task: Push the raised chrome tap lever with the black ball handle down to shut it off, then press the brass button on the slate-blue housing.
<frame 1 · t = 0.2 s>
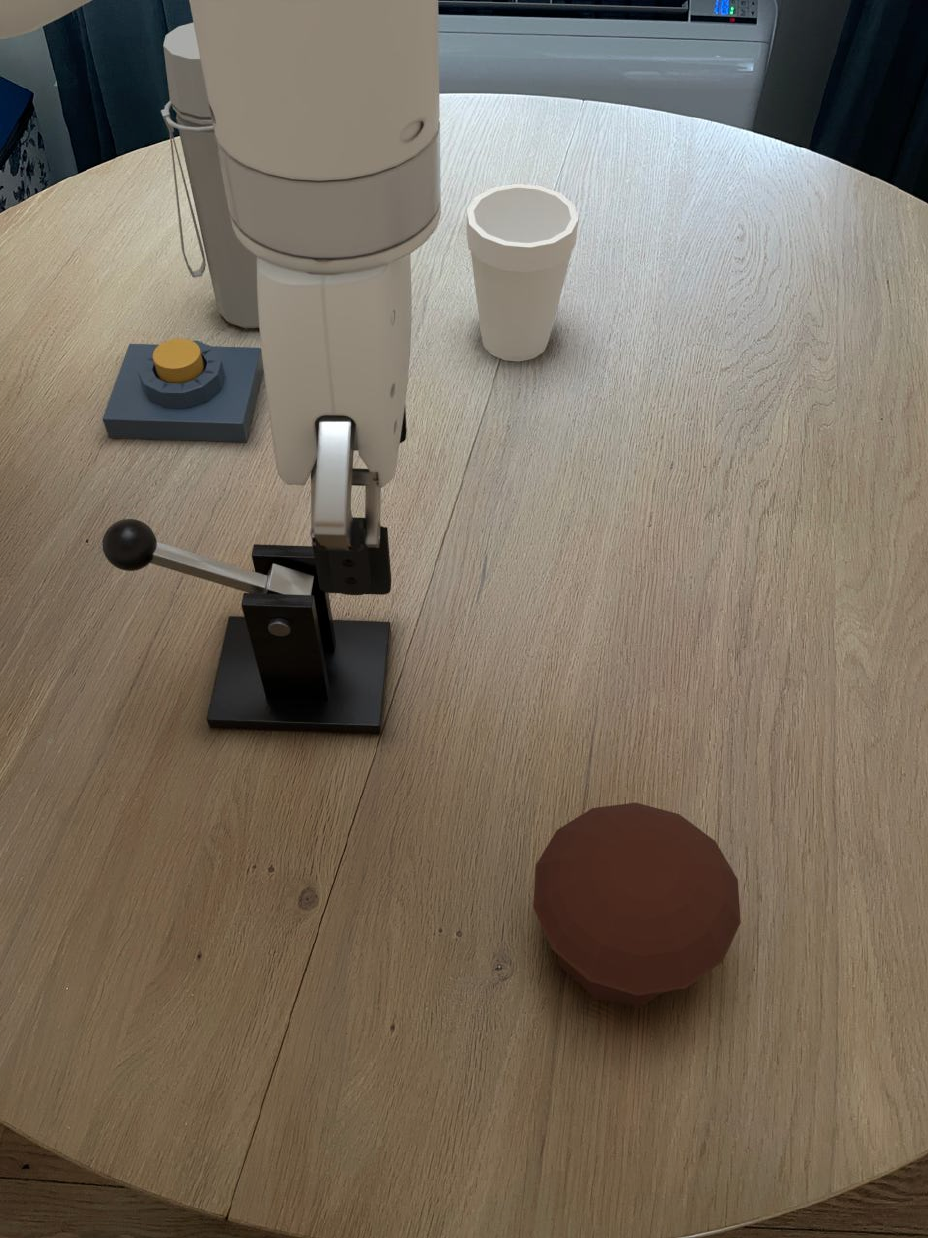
hand: (366, 509, 50), 26 cm above the table, tool pointing down, fingers open, 9 cm apart
water bottle: (246, 313, 101), on the table
foam cup: (514, 341, 98), on the table
button: (178, 361, 89), point 4 cm above the table, slide at 0.1 cm
button housing: (189, 401, 93), on the table
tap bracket: (303, 678, 75), on the table
tap lever: (208, 568, 65), point 12 cm above the table, hinge at 25.0°
muffin: (620, 935, 64), on the table
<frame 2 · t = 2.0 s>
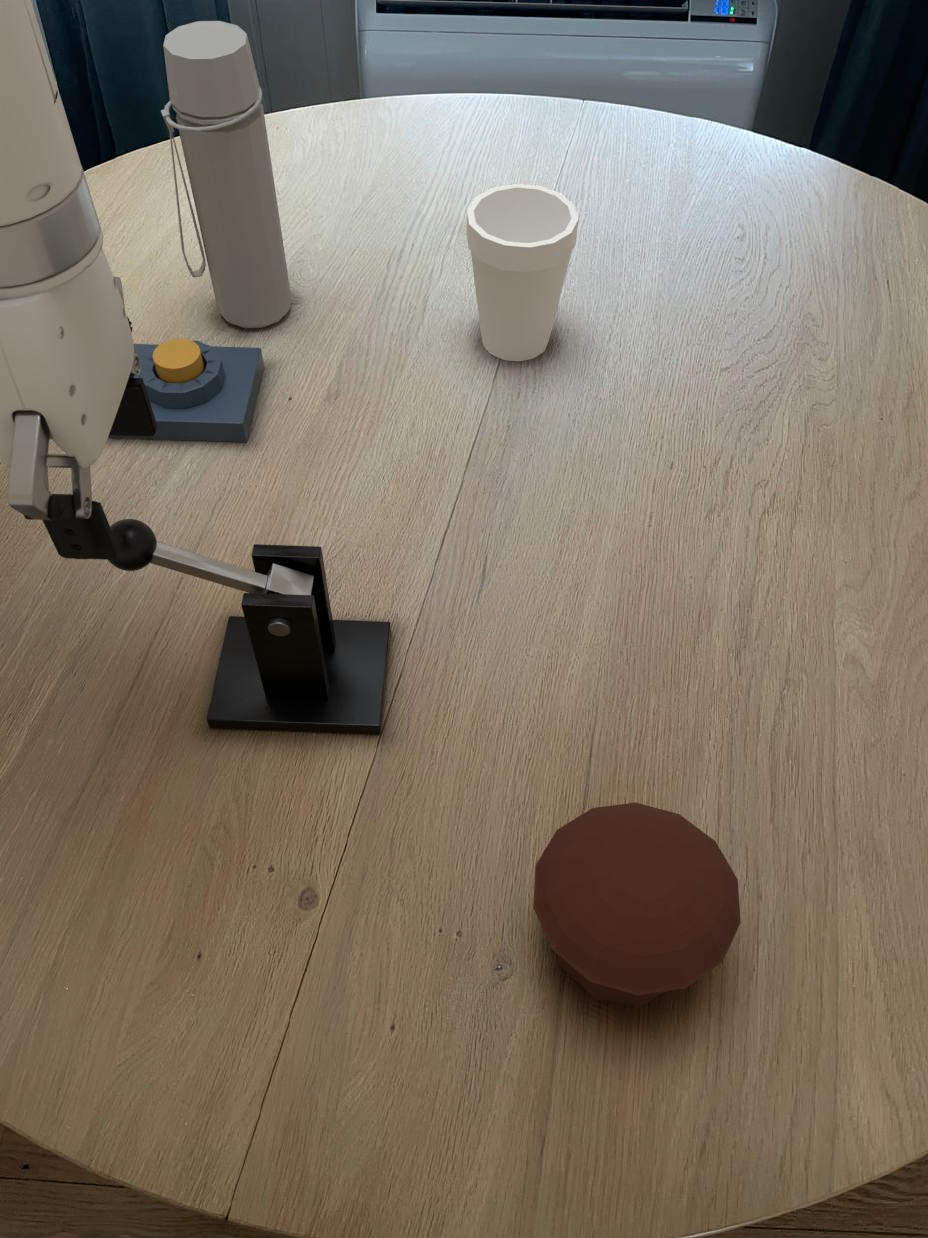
hand: (112, 490, 60), 19 cm above the table, tool pointing down, fingers open, 9 cm apart
nothing on the table moved.
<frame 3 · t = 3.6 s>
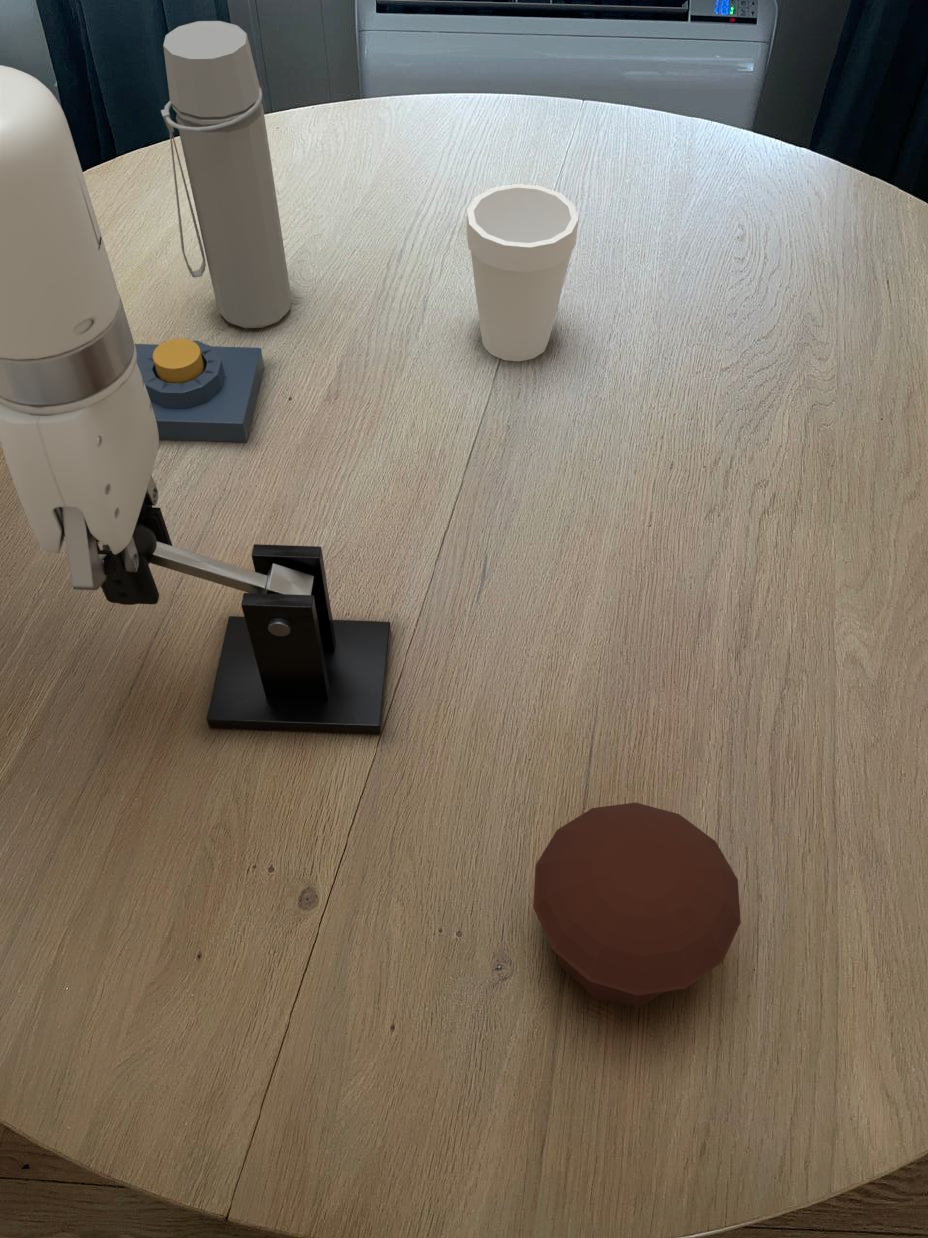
hand: (140, 573, 66), 11 cm above the table, tool pointing down, fingers closed on tap lever, 3 cm apart
tap lever: (208, 568, 65), point 12 cm above the table, hinge at 25.0°, touching gripper
everything else where it was.
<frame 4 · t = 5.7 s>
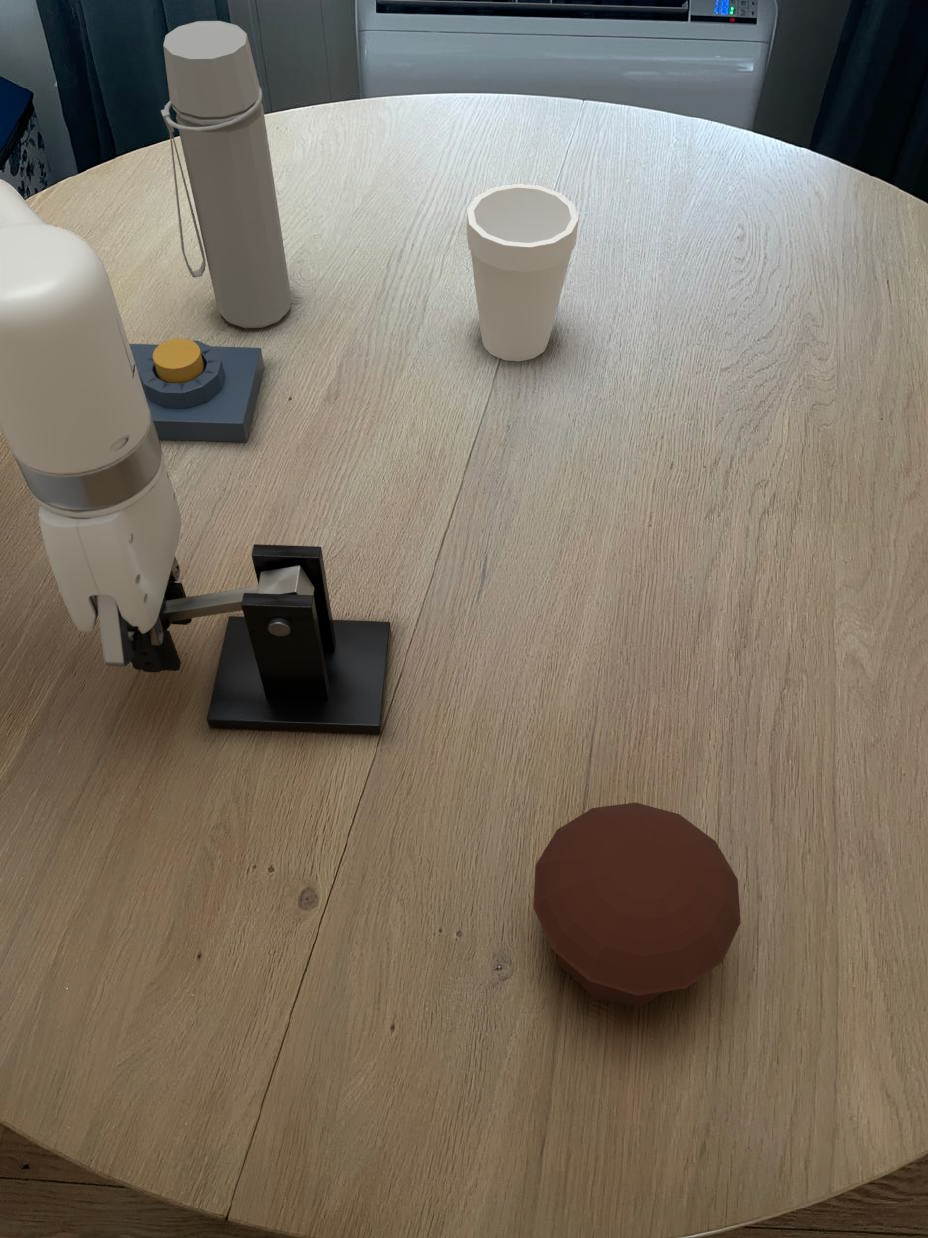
hand: (163, 641, 72), 4 cm above the table, tool pointing down, fingers closed on tap lever, 3 cm apart
tap lever: (214, 603, 68), point 9 cm above the table, hinge at -16.7°, touching gripper
everything else where it was.
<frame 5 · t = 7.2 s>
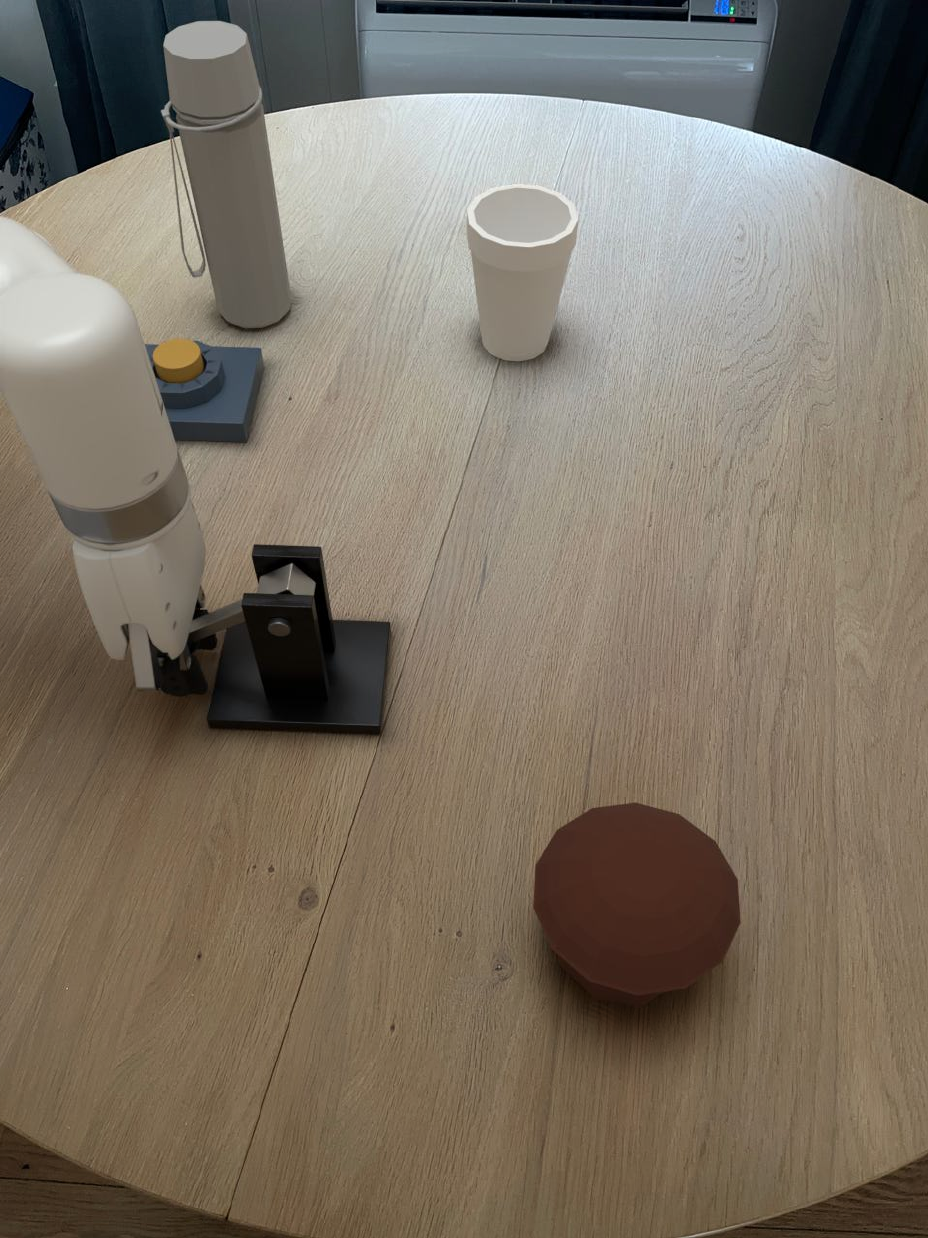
hand: (190, 666, 74), 1 cm above the table, tool pointing down, fingers closed on tap lever, 3 cm apart
tap lever: (227, 616, 69), point 7 cm above the table, hinge at -33.8°, touching gripper
everything else where it was.
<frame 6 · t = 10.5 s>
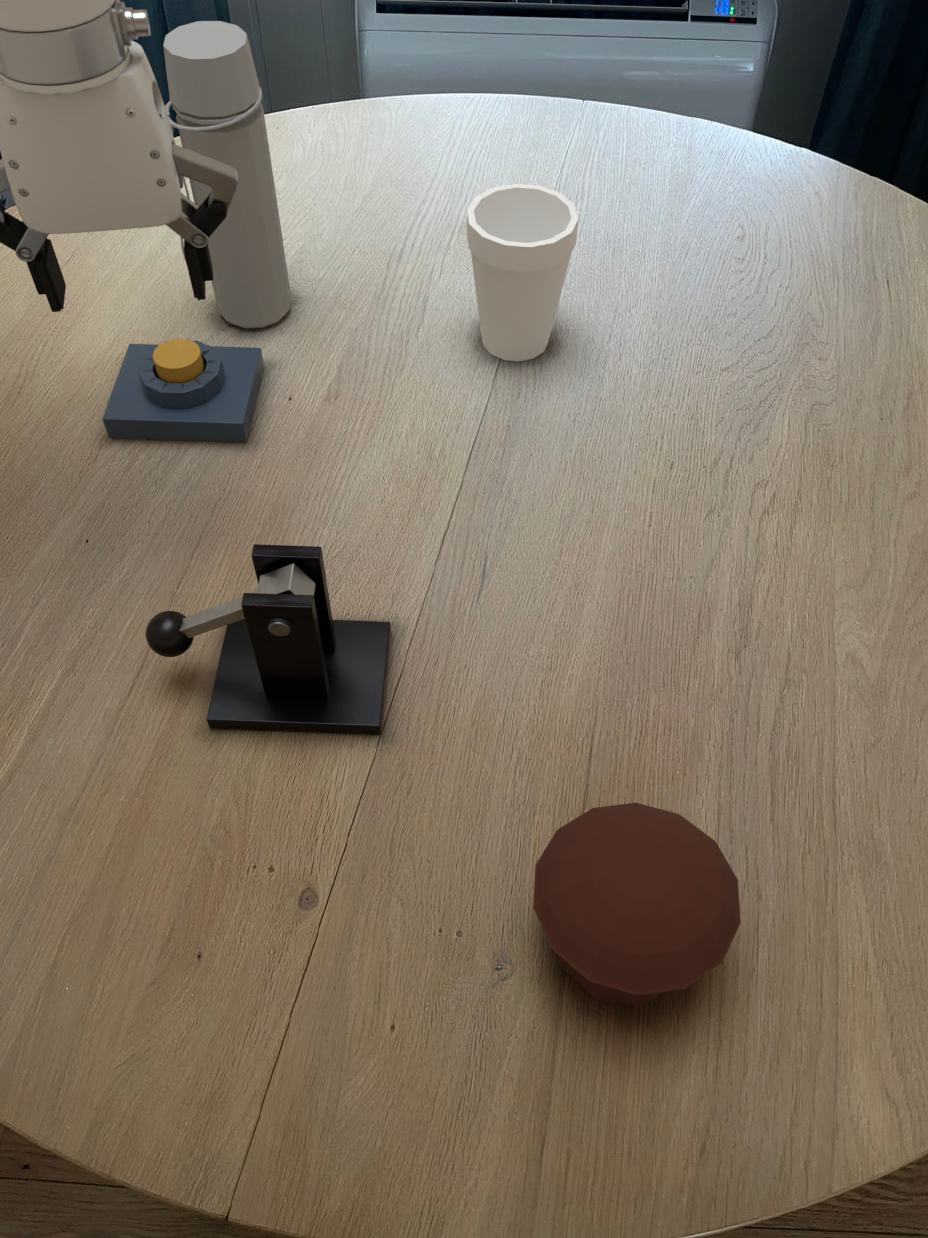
hand: (130, 293, 72), 18 cm above the table, tool pointing down, fingers open, 9 cm apart
tap lever: (225, 614, 69), point 7 cm above the table, hinge at -30.5°
everything else where it was.
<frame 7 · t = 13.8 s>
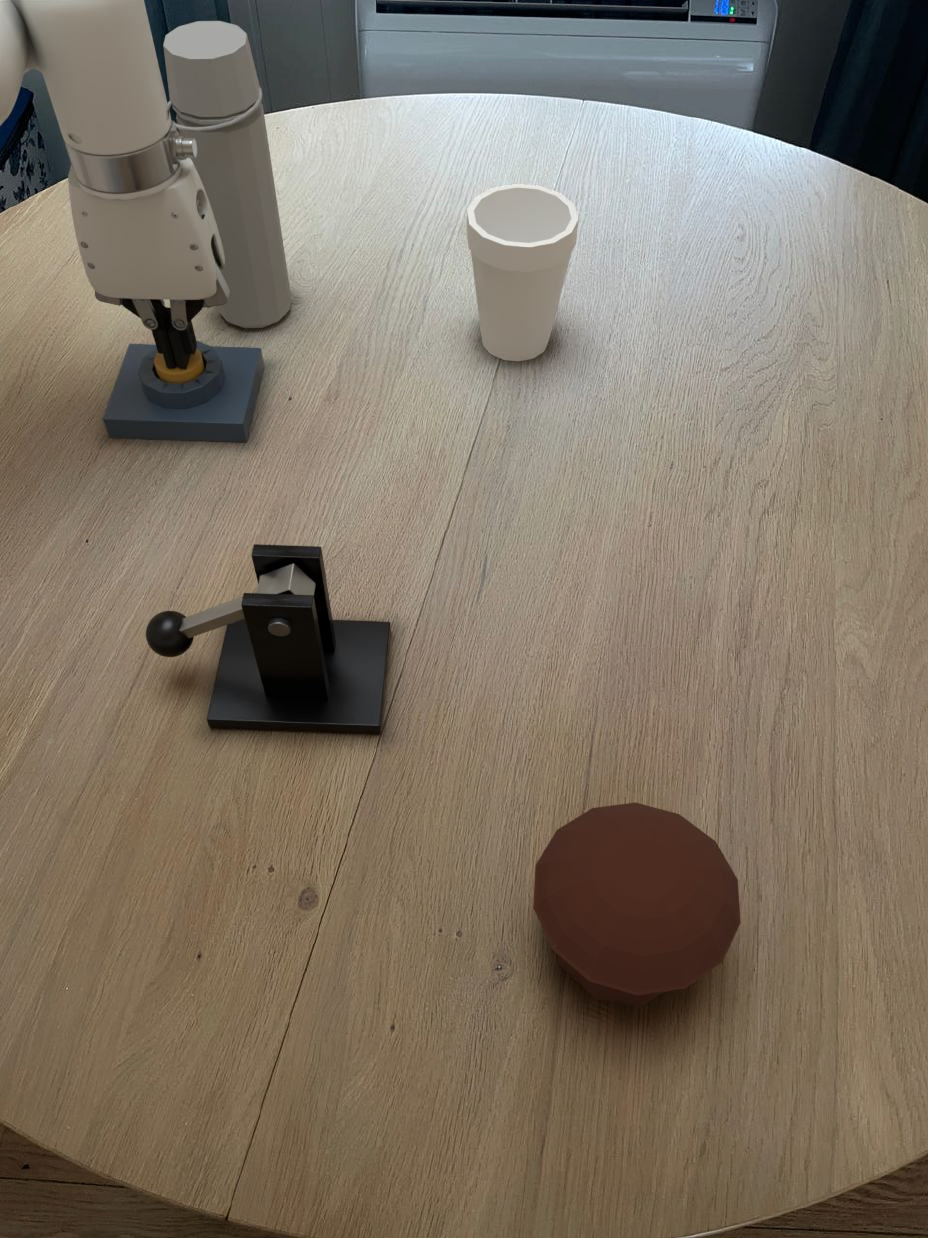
hand: (180, 357, 89), 5 cm above the table, tool pointing down, fingers closed
button: (179, 366, 90), point 4 cm above the table, slide at -0.5 cm, touching gripper
everything else where it was.
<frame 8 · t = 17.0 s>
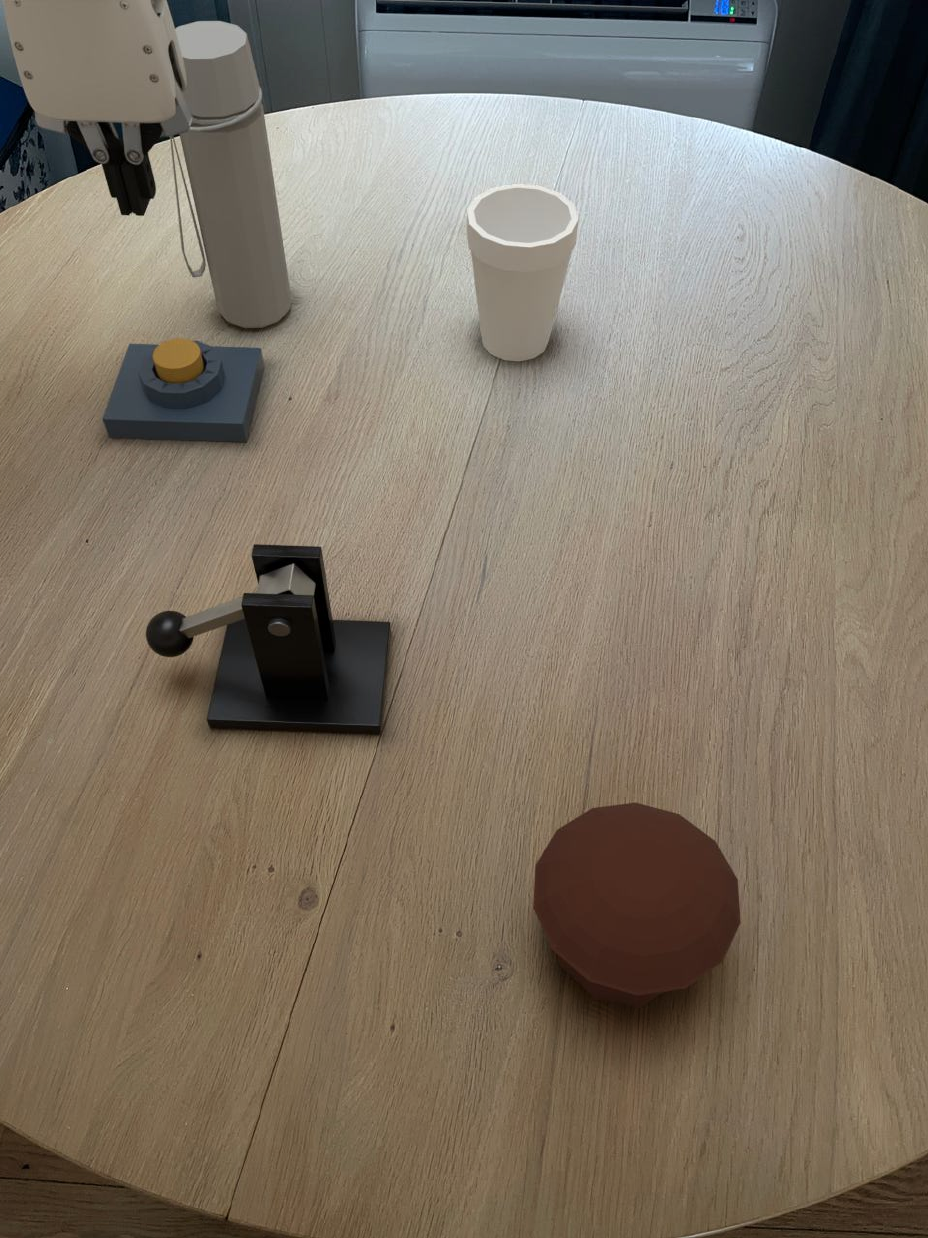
hand: (137, 204, 77), 19 cm above the table, tool pointing down, fingers closed
button: (178, 361, 89), point 4 cm above the table, slide at 0.1 cm
everything else where it was.
at the end: tap lever at -30° (first picture: +25°); button pushed in 1.1 cm at the most during the clip, back to where it started at the end; button slide at 0.1 cm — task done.
